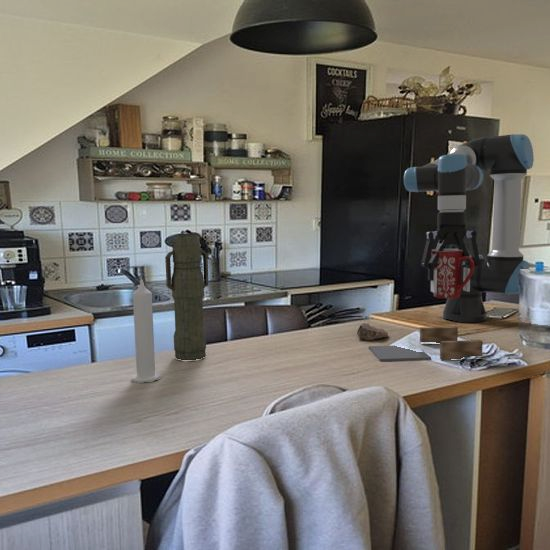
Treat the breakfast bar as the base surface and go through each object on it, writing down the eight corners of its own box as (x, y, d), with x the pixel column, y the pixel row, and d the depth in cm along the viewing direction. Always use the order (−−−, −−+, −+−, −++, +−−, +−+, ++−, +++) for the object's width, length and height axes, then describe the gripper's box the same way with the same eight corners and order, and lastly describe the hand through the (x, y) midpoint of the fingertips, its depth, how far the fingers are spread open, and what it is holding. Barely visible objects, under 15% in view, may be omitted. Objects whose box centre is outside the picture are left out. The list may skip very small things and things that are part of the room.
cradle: (455, 342, 169) (455, 326, 168) (482, 359, 150) (482, 341, 149) (419, 343, 168) (420, 327, 167) (442, 360, 149) (442, 342, 148)
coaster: (415, 346, 164) (415, 344, 164) (430, 359, 150) (431, 357, 150) (368, 348, 164) (368, 346, 164) (380, 361, 150) (380, 359, 150)
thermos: (164, 357, 157) (159, 234, 153) (202, 351, 164) (197, 232, 160) (177, 364, 150) (172, 235, 146) (216, 357, 157) (212, 233, 152)
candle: (130, 376, 140) (125, 278, 137) (158, 373, 142) (153, 276, 139) (133, 384, 133) (128, 282, 130) (163, 381, 136) (158, 280, 133)
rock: (359, 342, 172) (391, 336, 171) (355, 323, 173) (387, 317, 172) (357, 342, 181) (388, 336, 180) (353, 325, 181) (384, 319, 181)
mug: (423, 296, 159) (423, 250, 157) (441, 293, 165) (441, 247, 163) (463, 301, 149) (464, 252, 148) (481, 297, 155) (481, 249, 154)
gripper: (482, 210, 159) (480, 288, 161) (409, 212, 157) (408, 290, 160) (495, 210, 151) (493, 292, 154) (418, 212, 149) (417, 294, 152)
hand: (450, 291), depth 157 cm, fingers closed on mug, 9 cm apart
